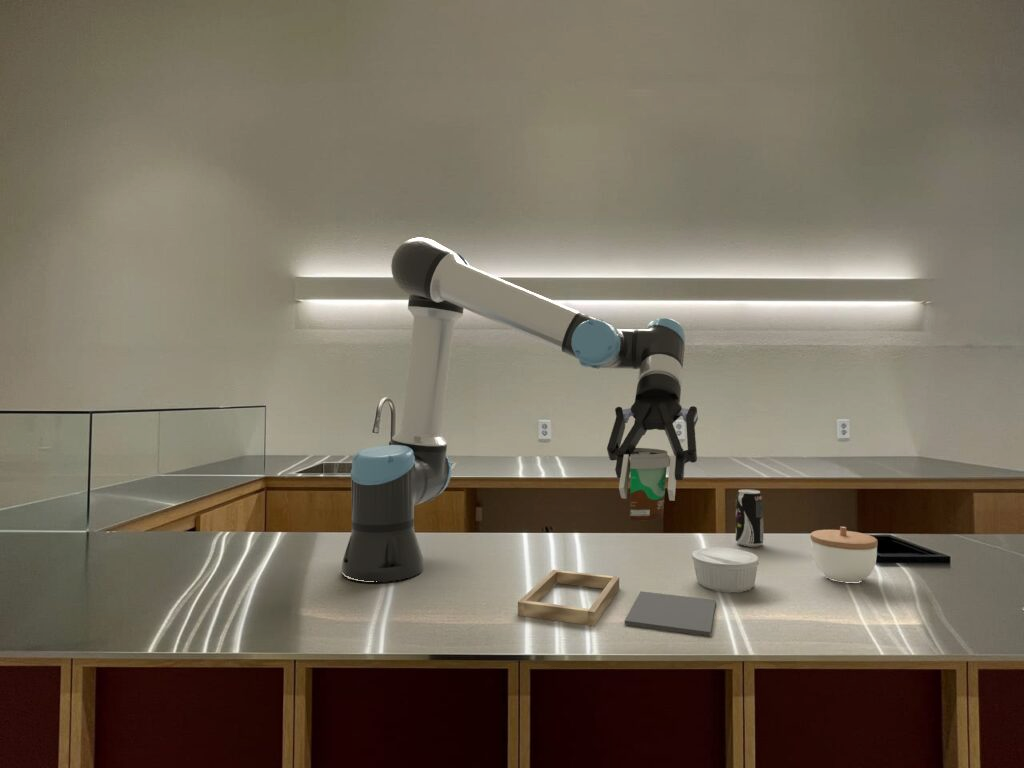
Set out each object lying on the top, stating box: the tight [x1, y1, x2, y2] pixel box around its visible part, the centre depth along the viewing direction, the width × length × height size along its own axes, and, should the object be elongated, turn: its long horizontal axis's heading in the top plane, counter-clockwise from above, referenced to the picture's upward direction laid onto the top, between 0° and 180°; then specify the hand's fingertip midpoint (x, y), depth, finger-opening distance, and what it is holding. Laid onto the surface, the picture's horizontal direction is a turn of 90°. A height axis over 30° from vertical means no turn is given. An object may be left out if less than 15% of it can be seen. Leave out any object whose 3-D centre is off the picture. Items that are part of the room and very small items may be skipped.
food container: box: [629, 447, 670, 522], centre depth 96 cm, size 12×6×10 cm, turn 168°
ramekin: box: [691, 547, 760, 593], centre depth 108 cm, size 11×11×5 cm
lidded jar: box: [810, 526, 879, 582], centre depth 111 cm, size 11×11×9 cm
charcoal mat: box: [624, 590, 717, 637], centre depth 94 cm, size 12×14×1 cm
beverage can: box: [735, 488, 764, 548], centre depth 136 cm, size 6×6×12 cm
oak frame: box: [517, 569, 620, 627], centre depth 100 cm, size 12×18×2 cm, turn 159°
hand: (646, 494), depth 92 cm, fingers closed on food container, 6 cm apart
